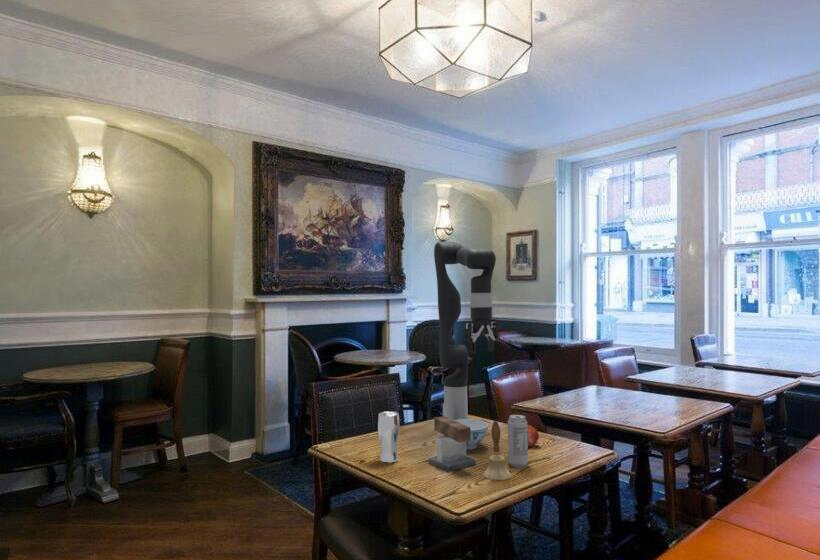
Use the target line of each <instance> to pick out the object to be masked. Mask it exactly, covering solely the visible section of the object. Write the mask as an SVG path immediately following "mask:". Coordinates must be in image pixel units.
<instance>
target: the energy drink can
mask: <svg viewBox="0 0 820 560" xmlns="http://www.w3.org/2000/svg"><path fill="white" fill-rule="evenodd" d="M527 425H528V421H527V419H526V416H525V415H522V414H510V415H509V418H508V419H507V452H508V453H507V454H508V455H507V456H508V457H507V462H508V463H509V464H510V466H511V467H513V466H514V468H525V467H526V466H527V464H529V456H528V455H529V453H528V452H529V451H528V449H529V448H528V447H529V446H528V437H527Z"/></svg>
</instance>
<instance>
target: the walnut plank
mask: <svg viewBox="0 0 820 560" xmlns="http://www.w3.org/2000/svg"><path fill="white" fill-rule="evenodd" d="M433 418H434V419H433V420H434V422H433V423H434V424H433V425H434V427H433V428H434V429H433V430H434V431H435V432H438V433H440V434H442V436H444V435H445V436H447V437H449V438H451V439H453V440H455V441H457V442H466V441H470V427H468V426H466V425H463V424H461V423H459V422H457V421H454V420H452V419H450V418H448V417H445V416H444V417H443V416H437V417H433Z"/></svg>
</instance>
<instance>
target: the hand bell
mask: <svg viewBox="0 0 820 560" xmlns="http://www.w3.org/2000/svg"><path fill="white" fill-rule="evenodd" d="M490 432H491V439H492V441H493V454H492V455H490V456H489V457H488V464H487V468H486V469H485V470H484V471H483V473H482V476H483V478H485V477H486V479H487V478H488V479H487V480H490V479H491V480H490V481H498V480H500V481H506V479H507V480H510V479H511V478H512V473H511V472H510V471H509V470H508V468H507V466H506V459H505V457H504V455H501V453H500V439H501V428H500V425H499V422H498V420H493V421H492V426H491V431H490Z"/></svg>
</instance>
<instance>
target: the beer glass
mask: <svg viewBox="0 0 820 560" xmlns="http://www.w3.org/2000/svg"><path fill="white" fill-rule="evenodd" d="M399 414H400V413H399V412H397V411H382V412H379V413H378V420H377V421H378V422H377V432H378V433H377V434H378V439H379V444H380V454H379V455H380V456H379V461H380V462H381V461H382V462H381V463H383V462H395V463H397V462H398V461H399V454H398V445H399V439H400V438H399V437H400V415H399ZM396 461H397V462H396Z"/></svg>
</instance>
